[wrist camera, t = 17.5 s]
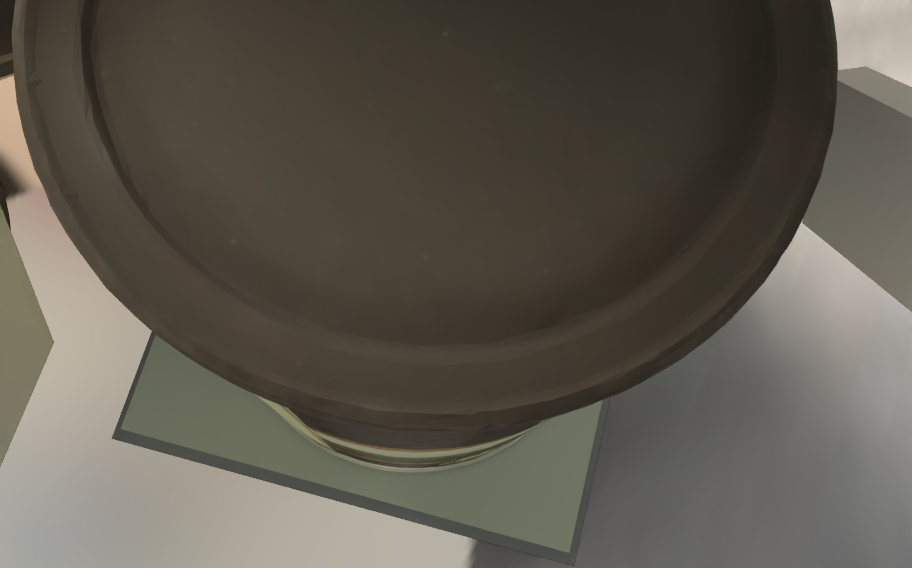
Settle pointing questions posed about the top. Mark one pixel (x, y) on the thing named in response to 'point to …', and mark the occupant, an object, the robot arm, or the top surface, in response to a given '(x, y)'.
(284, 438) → the base block
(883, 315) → the top surface
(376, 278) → the coffee can
